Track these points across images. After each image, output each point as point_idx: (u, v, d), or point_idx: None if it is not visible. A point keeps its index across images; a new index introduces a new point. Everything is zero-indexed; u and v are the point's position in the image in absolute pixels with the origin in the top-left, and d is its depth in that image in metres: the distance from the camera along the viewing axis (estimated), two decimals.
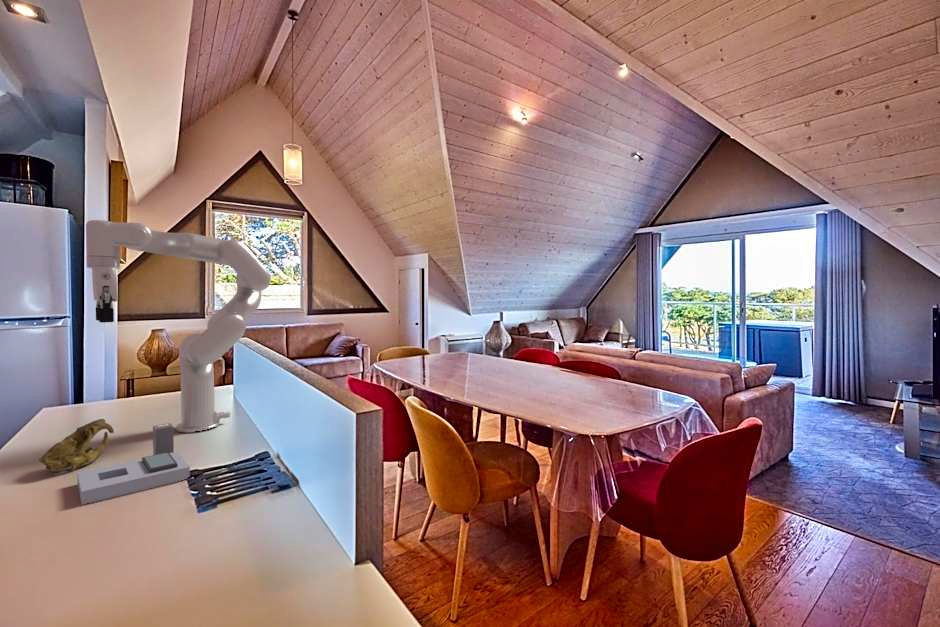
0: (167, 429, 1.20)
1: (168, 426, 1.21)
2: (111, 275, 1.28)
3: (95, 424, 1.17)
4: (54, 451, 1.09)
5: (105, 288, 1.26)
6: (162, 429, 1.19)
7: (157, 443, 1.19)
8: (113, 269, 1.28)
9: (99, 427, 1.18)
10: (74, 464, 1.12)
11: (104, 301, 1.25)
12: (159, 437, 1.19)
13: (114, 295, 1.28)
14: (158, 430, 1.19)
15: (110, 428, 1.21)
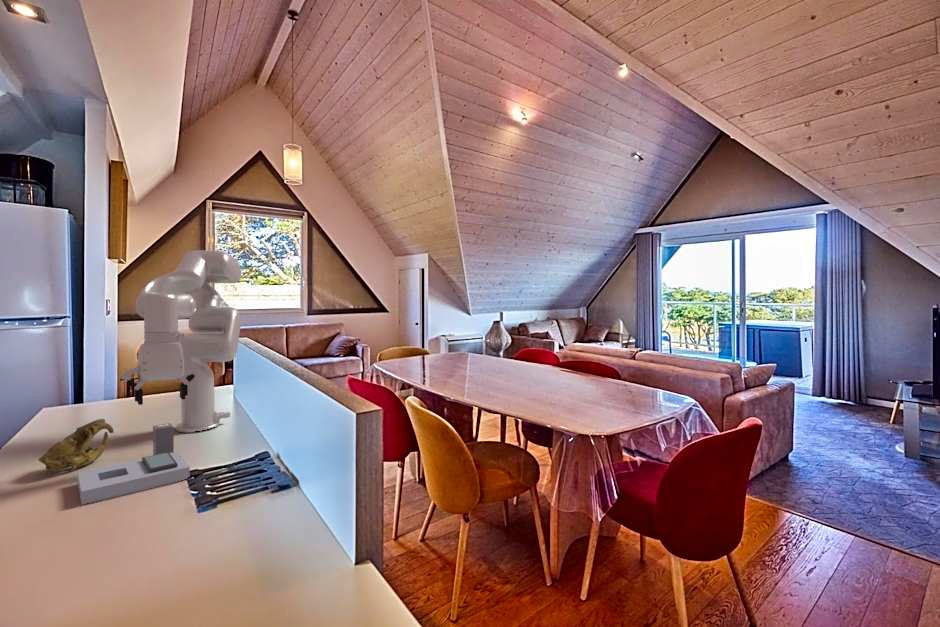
0: (167, 429, 1.20)
1: (168, 426, 1.21)
2: None
3: (95, 424, 1.17)
4: (54, 451, 1.09)
5: (187, 363, 1.24)
6: (162, 429, 1.19)
7: (157, 443, 1.19)
8: None
9: (99, 427, 1.18)
10: (74, 464, 1.12)
11: (194, 376, 1.25)
12: (158, 437, 1.19)
13: None
14: (158, 430, 1.19)
15: (110, 428, 1.21)
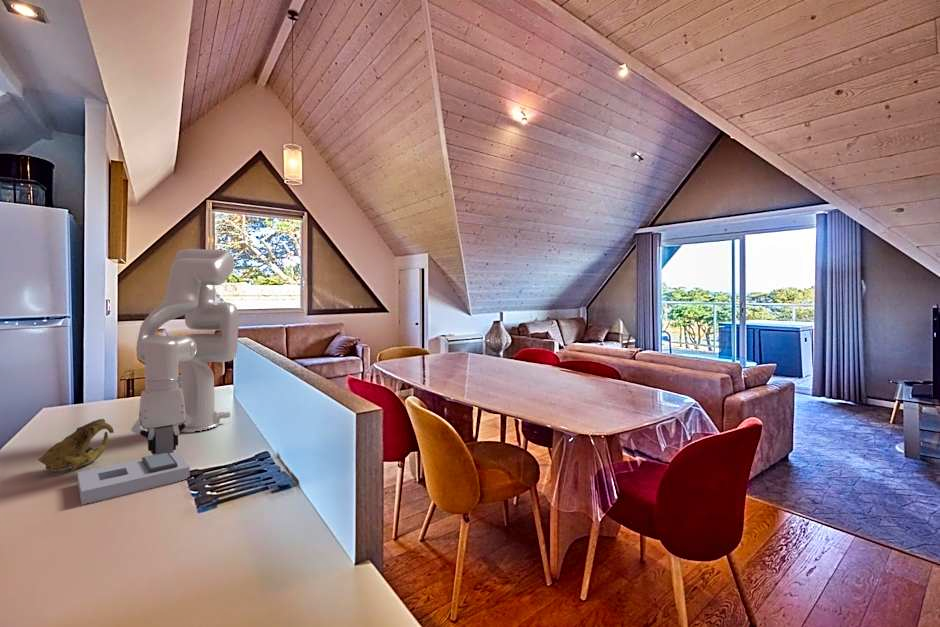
0: (167, 429, 1.20)
1: (168, 426, 1.21)
2: None
3: (95, 424, 1.17)
4: (54, 451, 1.09)
5: (185, 412, 1.25)
6: (162, 429, 1.19)
7: (157, 443, 1.19)
8: None
9: (99, 427, 1.18)
10: (74, 464, 1.12)
11: (185, 425, 1.24)
12: (158, 437, 1.19)
13: None
14: (158, 430, 1.19)
15: (110, 428, 1.21)
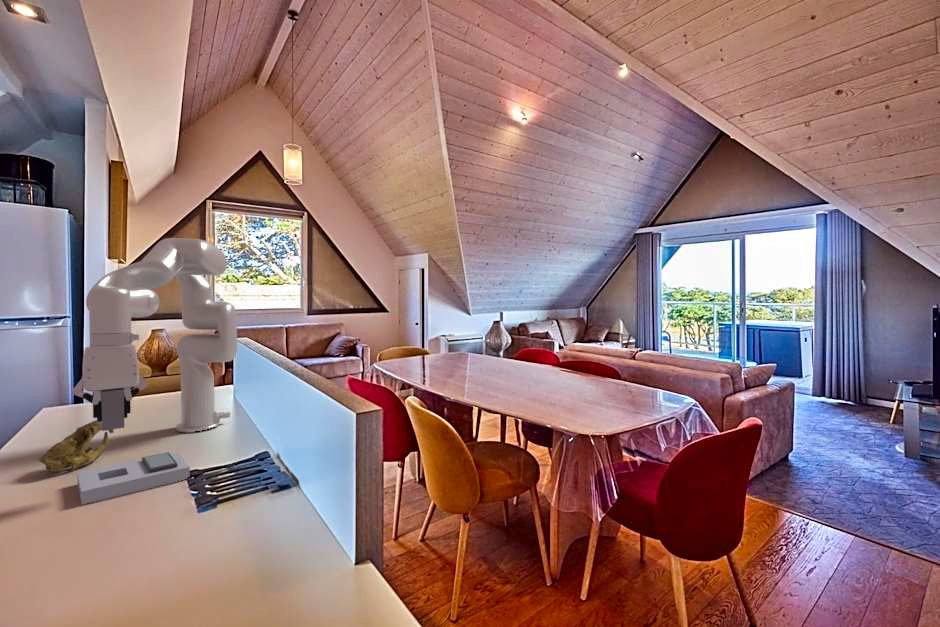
0: (116, 392, 1.02)
1: (118, 389, 1.03)
2: None
3: (95, 424, 1.17)
4: (54, 451, 1.09)
5: (139, 374, 1.06)
6: (110, 392, 1.01)
7: (103, 408, 1.00)
8: None
9: (99, 427, 1.18)
10: (74, 464, 1.12)
11: (139, 390, 1.06)
12: (105, 402, 1.01)
13: None
14: (105, 393, 1.00)
15: None
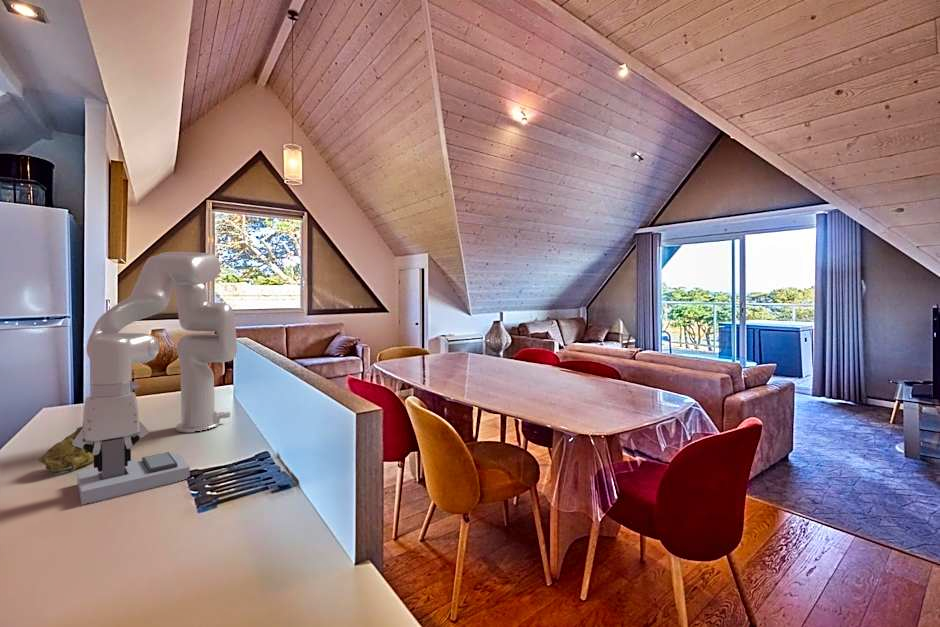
0: (117, 442, 1.02)
1: (118, 438, 1.03)
2: None
3: None
4: (54, 451, 1.09)
5: None
6: (110, 442, 1.01)
7: (104, 458, 1.01)
8: None
9: None
10: (74, 464, 1.12)
11: (139, 437, 1.06)
12: (106, 452, 1.01)
13: None
14: (105, 443, 1.01)
15: None
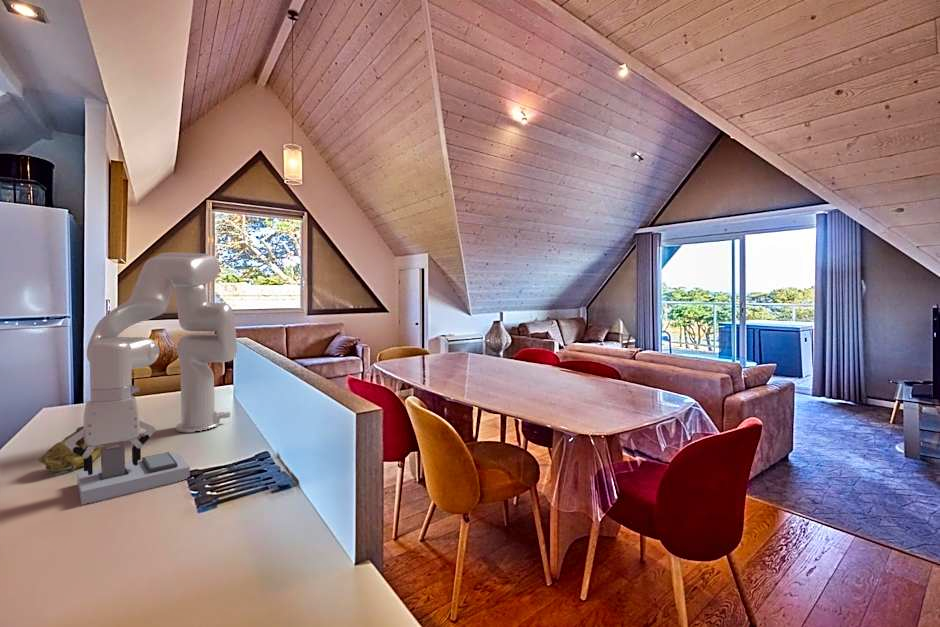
0: (117, 451, 1.03)
1: (118, 447, 1.03)
2: None
3: None
4: (54, 451, 1.09)
5: (142, 422, 1.07)
6: (111, 451, 1.02)
7: (104, 468, 1.01)
8: None
9: None
10: (74, 464, 1.12)
11: (149, 437, 1.08)
12: (106, 461, 1.01)
13: None
14: (106, 453, 1.01)
15: None
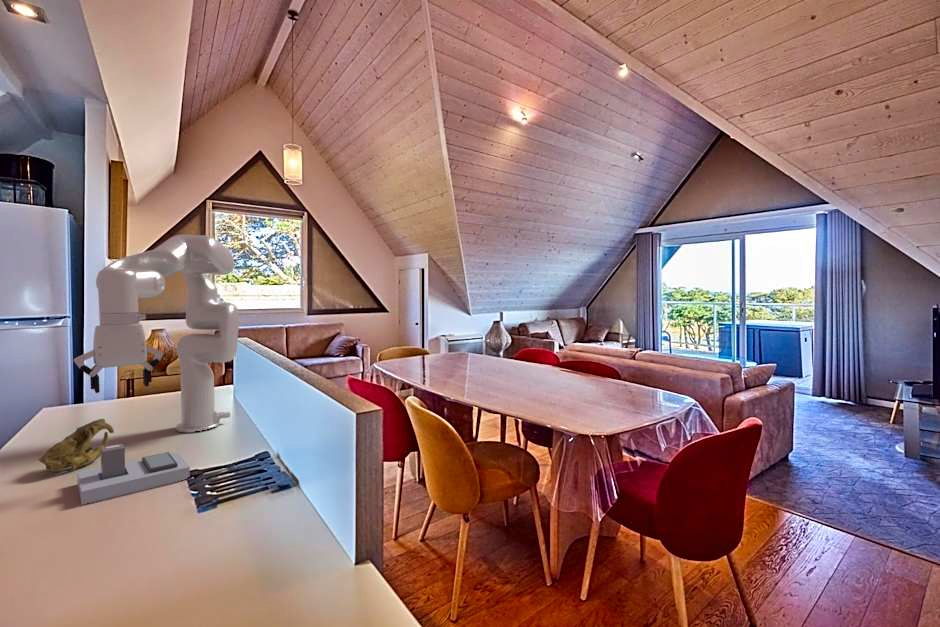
0: (117, 451, 1.03)
1: (118, 447, 1.03)
2: None
3: (95, 424, 1.17)
4: (54, 451, 1.09)
5: (150, 347, 1.12)
6: (111, 451, 1.02)
7: (104, 468, 1.01)
8: None
9: (99, 427, 1.18)
10: (74, 464, 1.12)
11: None
12: (106, 461, 1.01)
13: None
14: (106, 453, 1.01)
15: (110, 428, 1.21)
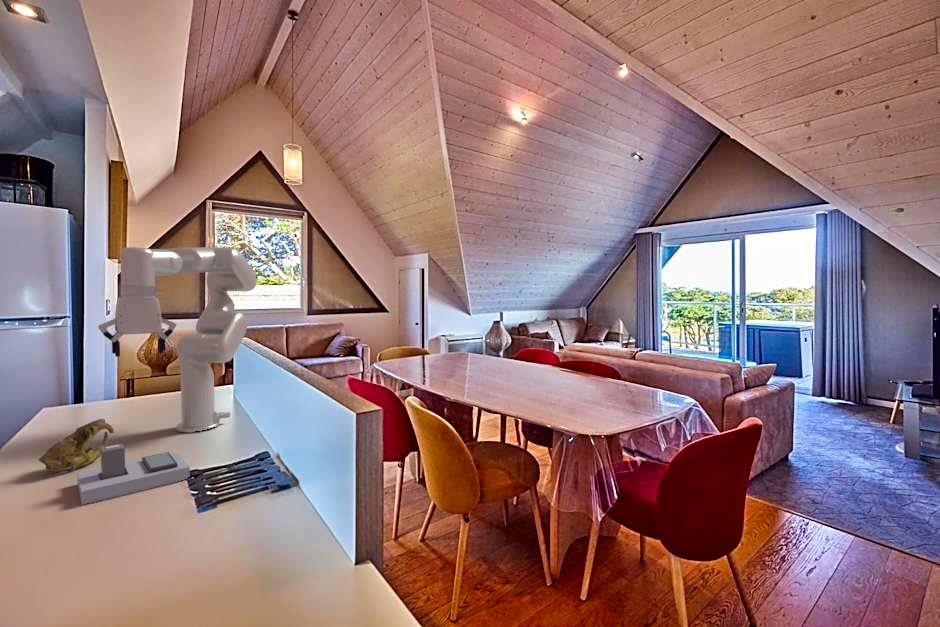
0: (117, 451, 1.03)
1: (118, 447, 1.03)
2: None
3: (95, 424, 1.17)
4: (54, 451, 1.09)
5: None
6: (111, 451, 1.02)
7: (104, 468, 1.01)
8: None
9: (99, 427, 1.18)
10: (74, 464, 1.12)
11: (172, 331, 1.27)
12: (106, 461, 1.01)
13: None
14: (106, 453, 1.01)
15: (110, 428, 1.21)
